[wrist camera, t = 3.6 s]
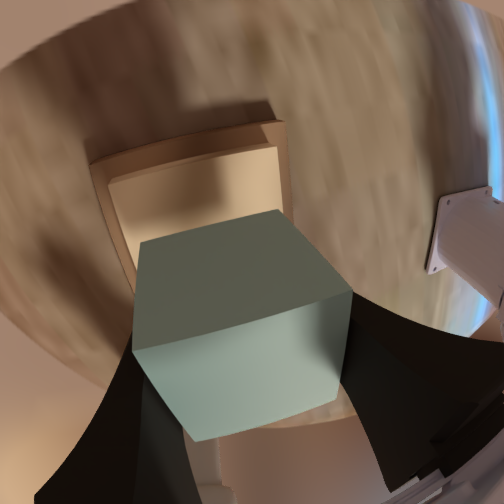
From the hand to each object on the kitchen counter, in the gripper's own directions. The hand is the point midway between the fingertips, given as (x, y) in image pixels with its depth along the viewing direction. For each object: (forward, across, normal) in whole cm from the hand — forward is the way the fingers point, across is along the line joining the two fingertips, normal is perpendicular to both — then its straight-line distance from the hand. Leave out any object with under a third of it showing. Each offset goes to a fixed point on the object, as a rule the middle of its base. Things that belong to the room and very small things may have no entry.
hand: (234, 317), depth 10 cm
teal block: (+2, 0, 0) cm, 2 cm away
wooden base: (+8, 0, 0) cm, 8 cm away
